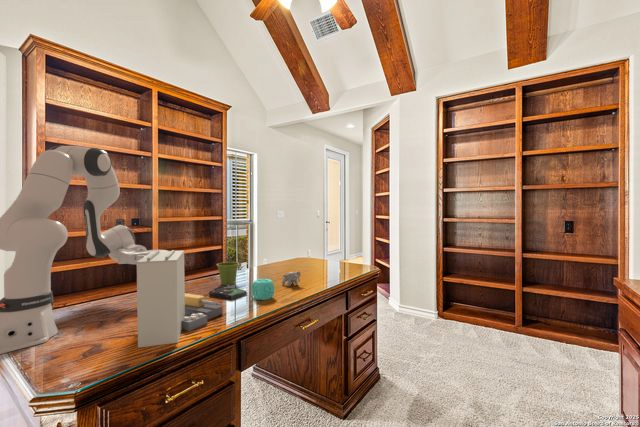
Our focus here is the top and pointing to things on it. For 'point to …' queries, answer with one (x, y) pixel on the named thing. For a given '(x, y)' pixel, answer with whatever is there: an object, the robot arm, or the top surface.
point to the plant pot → (228, 272)
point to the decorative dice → (263, 289)
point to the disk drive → (228, 293)
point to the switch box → (194, 321)
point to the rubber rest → (204, 310)
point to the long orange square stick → (197, 300)
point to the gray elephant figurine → (291, 278)
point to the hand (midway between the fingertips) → (156, 256)
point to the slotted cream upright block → (160, 297)
